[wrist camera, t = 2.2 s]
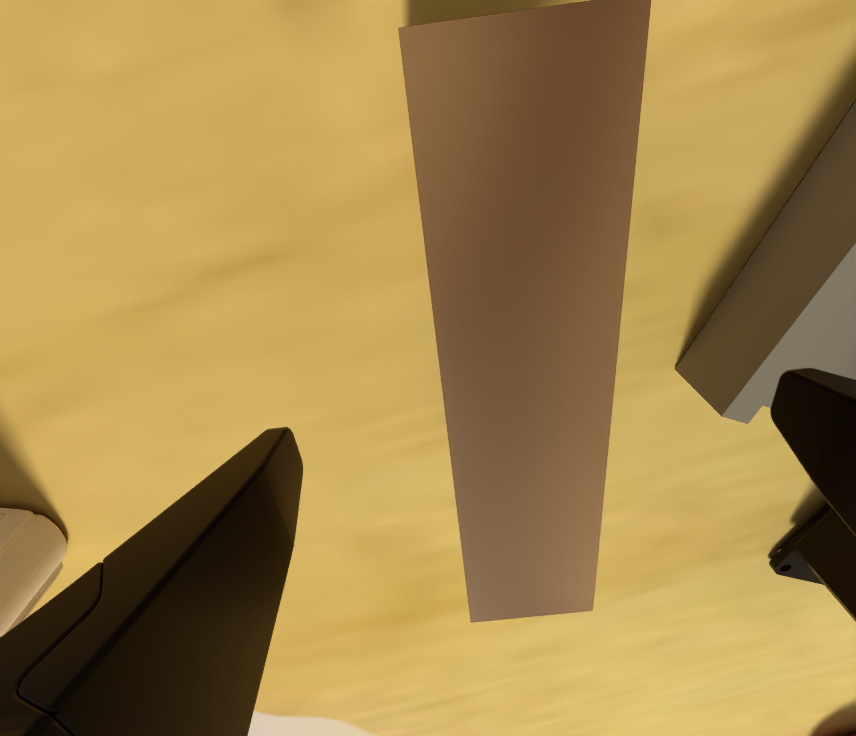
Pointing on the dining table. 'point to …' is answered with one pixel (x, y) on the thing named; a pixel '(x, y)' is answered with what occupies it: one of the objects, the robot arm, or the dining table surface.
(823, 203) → the display ledge
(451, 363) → the brown flat block
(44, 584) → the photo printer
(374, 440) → the dining table surface
